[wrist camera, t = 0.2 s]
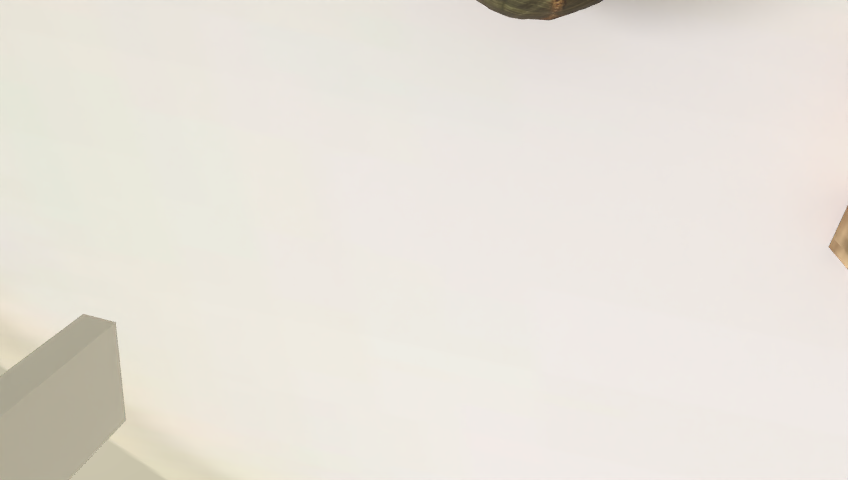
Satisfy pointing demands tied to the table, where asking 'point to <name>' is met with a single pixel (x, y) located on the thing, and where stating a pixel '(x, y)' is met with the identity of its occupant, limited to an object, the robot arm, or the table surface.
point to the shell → (537, 7)
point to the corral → (841, 240)
